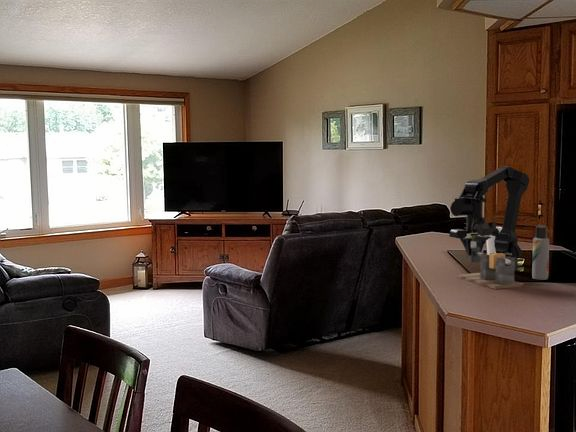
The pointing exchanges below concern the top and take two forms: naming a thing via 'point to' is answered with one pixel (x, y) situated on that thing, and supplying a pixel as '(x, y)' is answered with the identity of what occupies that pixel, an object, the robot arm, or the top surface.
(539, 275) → the lotion bottle
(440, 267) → the top surface
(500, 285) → the shaft stand
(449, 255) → the top surface
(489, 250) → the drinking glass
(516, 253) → the robot arm
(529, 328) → the top surface
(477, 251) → the shaft
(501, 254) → the spacer
